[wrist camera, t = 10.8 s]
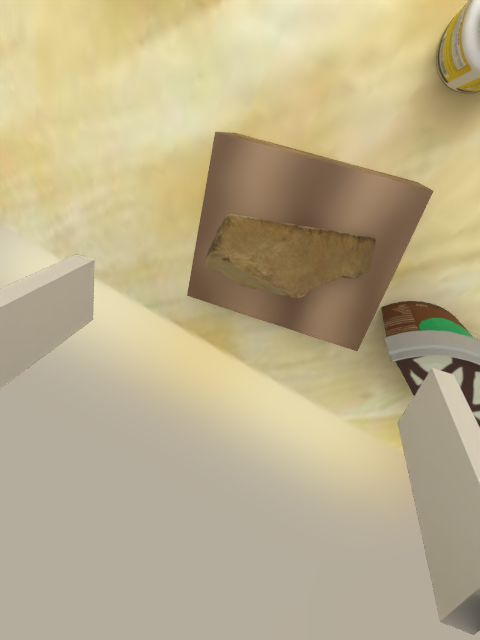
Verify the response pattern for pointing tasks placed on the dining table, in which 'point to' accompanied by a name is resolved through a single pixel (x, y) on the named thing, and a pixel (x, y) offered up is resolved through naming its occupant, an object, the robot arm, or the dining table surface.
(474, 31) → the supplement bottle
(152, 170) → the dining table surface
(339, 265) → the rock
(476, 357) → the food container
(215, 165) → the walnut block
